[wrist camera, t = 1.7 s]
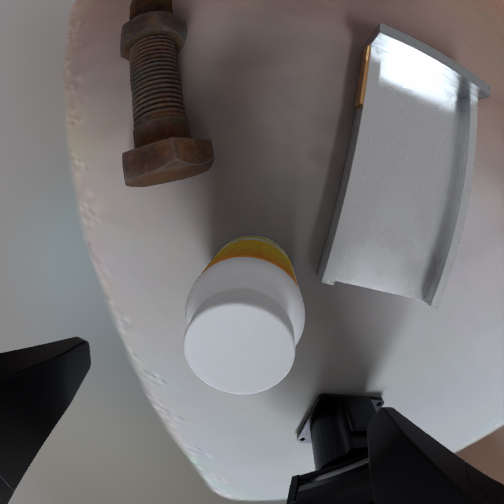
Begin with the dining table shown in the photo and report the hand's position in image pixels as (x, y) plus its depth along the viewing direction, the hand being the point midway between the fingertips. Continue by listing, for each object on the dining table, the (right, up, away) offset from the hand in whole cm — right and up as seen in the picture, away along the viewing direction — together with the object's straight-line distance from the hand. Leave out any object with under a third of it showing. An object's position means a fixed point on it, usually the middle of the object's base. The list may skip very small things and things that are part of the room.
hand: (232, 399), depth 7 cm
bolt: (-5, +16, +10) cm, 20 cm away
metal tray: (+11, +9, +10) cm, 18 cm away
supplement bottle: (+1, +3, +12) cm, 12 cm away
